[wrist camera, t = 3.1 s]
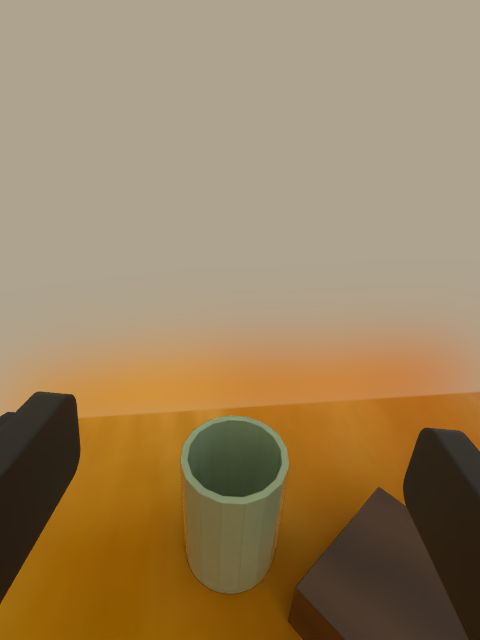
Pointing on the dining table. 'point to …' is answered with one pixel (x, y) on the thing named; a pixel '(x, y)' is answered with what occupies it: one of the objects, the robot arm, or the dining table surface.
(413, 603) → the block
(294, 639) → the dining table surface
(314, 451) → the dining table surface
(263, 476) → the cup
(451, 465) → the robot arm
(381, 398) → the dining table surface
